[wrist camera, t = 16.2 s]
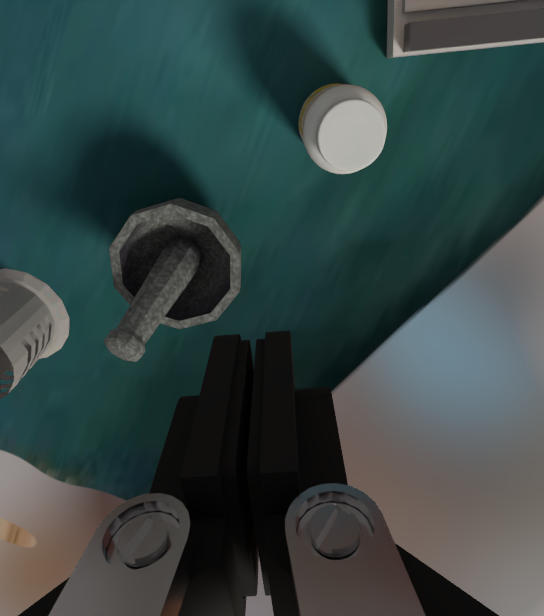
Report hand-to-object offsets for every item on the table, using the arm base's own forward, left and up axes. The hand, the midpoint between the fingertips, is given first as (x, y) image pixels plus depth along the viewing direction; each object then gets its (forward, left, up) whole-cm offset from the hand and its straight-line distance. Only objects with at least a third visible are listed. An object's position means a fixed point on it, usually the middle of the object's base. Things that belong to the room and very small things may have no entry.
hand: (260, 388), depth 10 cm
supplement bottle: (-3, +5, -29) cm, 30 cm away
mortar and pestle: (+6, -8, -29) cm, 31 cm away
